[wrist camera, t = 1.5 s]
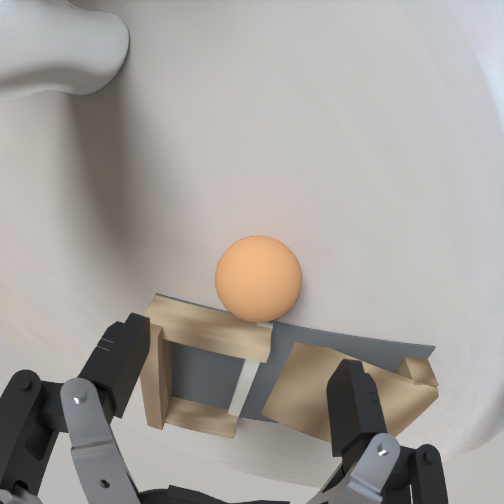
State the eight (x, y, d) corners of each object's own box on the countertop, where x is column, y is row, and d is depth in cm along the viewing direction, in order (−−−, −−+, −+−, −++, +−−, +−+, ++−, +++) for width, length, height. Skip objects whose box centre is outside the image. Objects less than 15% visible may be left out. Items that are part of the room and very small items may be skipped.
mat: (434, 346, 22) (437, 352, 21) (364, 426, 29) (365, 432, 28) (156, 293, 21) (152, 299, 20) (158, 395, 28) (156, 401, 27)
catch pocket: (271, 322, 21) (269, 362, 17) (236, 416, 28) (232, 446, 24) (155, 294, 21) (135, 329, 17) (157, 397, 28) (147, 425, 24)
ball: (308, 233, 18) (318, 276, 13) (287, 296, 20) (288, 347, 16) (230, 214, 18) (213, 252, 13) (217, 281, 20) (201, 329, 16)
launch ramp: (424, 351, 23) (443, 396, 18) (369, 416, 29) (375, 455, 23) (294, 333, 23) (295, 390, 18) (260, 406, 28) (256, 451, 23)
